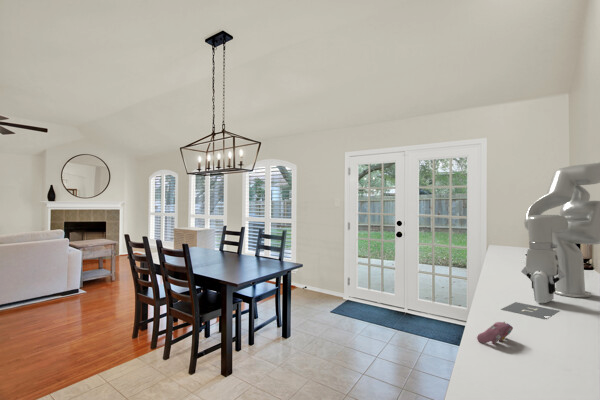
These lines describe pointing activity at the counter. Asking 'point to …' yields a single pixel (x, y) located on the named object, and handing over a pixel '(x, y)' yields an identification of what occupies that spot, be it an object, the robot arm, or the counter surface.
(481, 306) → the counter surface
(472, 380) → the counter surface
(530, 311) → the dark gray panel
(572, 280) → the robot arm
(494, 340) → the video game controller
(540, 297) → the photo printer
